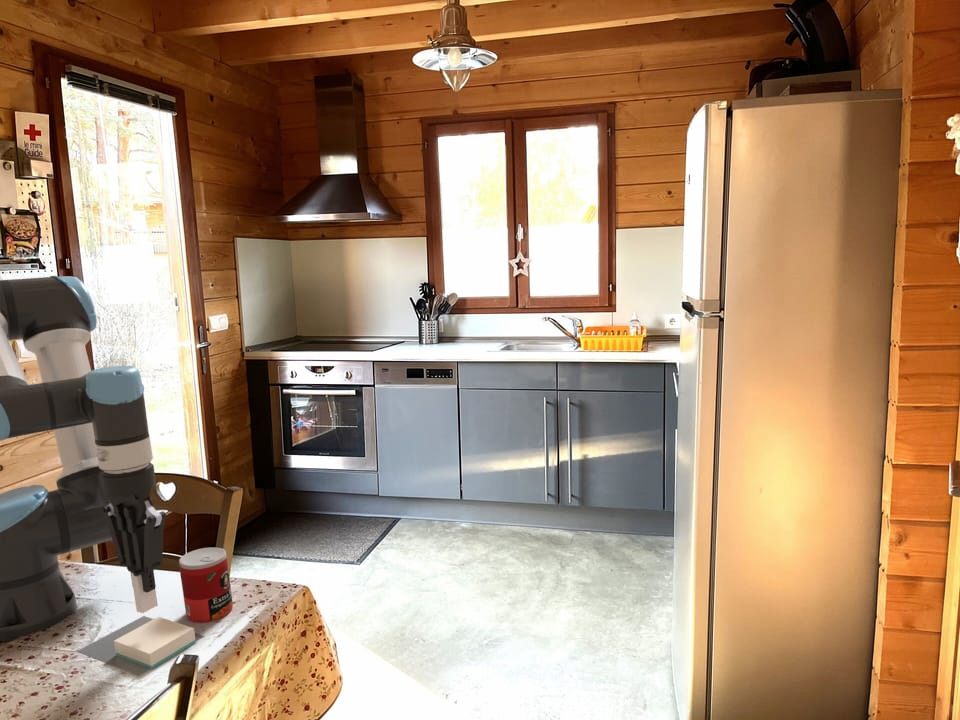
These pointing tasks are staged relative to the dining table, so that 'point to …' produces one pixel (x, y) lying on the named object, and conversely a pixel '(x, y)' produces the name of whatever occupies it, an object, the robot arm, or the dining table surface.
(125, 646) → the tile
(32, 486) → the robot arm
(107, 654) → the slate board
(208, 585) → the canned food
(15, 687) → the dining table surface
